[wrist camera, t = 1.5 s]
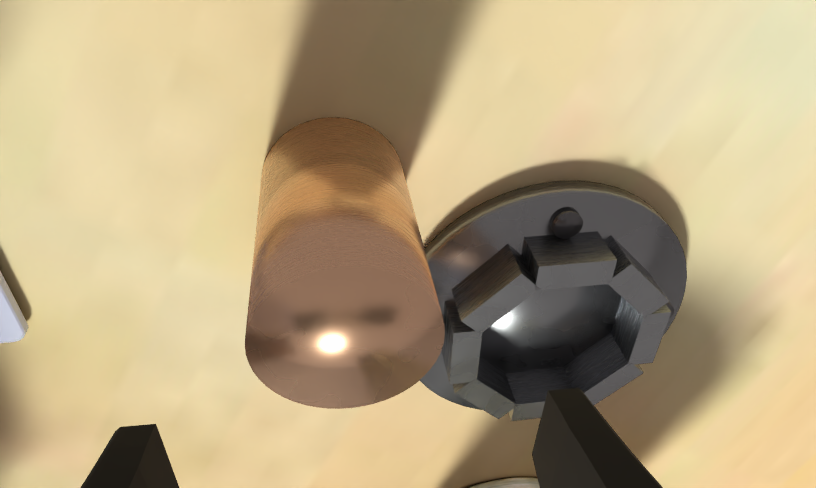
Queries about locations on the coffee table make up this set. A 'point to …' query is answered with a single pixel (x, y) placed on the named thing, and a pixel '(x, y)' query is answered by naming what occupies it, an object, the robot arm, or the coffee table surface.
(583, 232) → the flange
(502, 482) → the coffee can
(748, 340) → the coffee table surface
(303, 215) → the pipe stub
